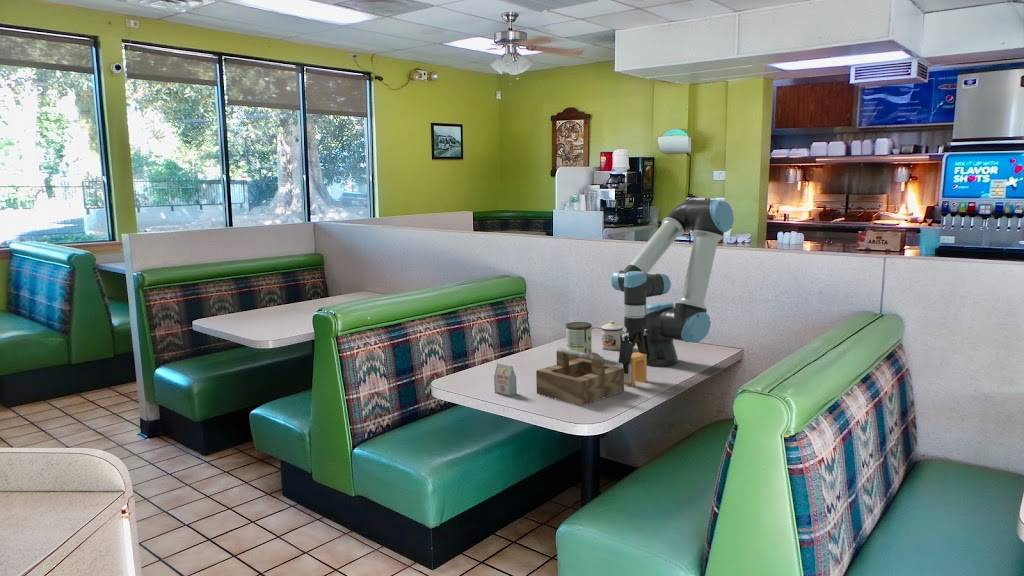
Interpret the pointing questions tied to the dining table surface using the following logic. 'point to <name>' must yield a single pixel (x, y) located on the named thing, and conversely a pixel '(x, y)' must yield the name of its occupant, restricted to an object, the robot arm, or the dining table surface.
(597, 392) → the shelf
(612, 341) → the teacup with lid
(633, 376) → the orange u-shaped bracket
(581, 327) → the coffee can
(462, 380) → the dining table surface
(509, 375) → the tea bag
